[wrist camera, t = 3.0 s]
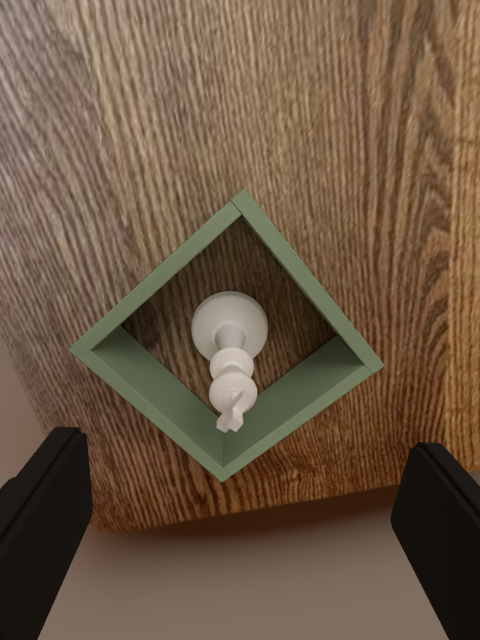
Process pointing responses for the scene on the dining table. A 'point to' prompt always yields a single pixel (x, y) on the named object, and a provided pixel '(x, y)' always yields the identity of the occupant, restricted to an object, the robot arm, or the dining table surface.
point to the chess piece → (230, 351)
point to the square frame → (270, 406)
